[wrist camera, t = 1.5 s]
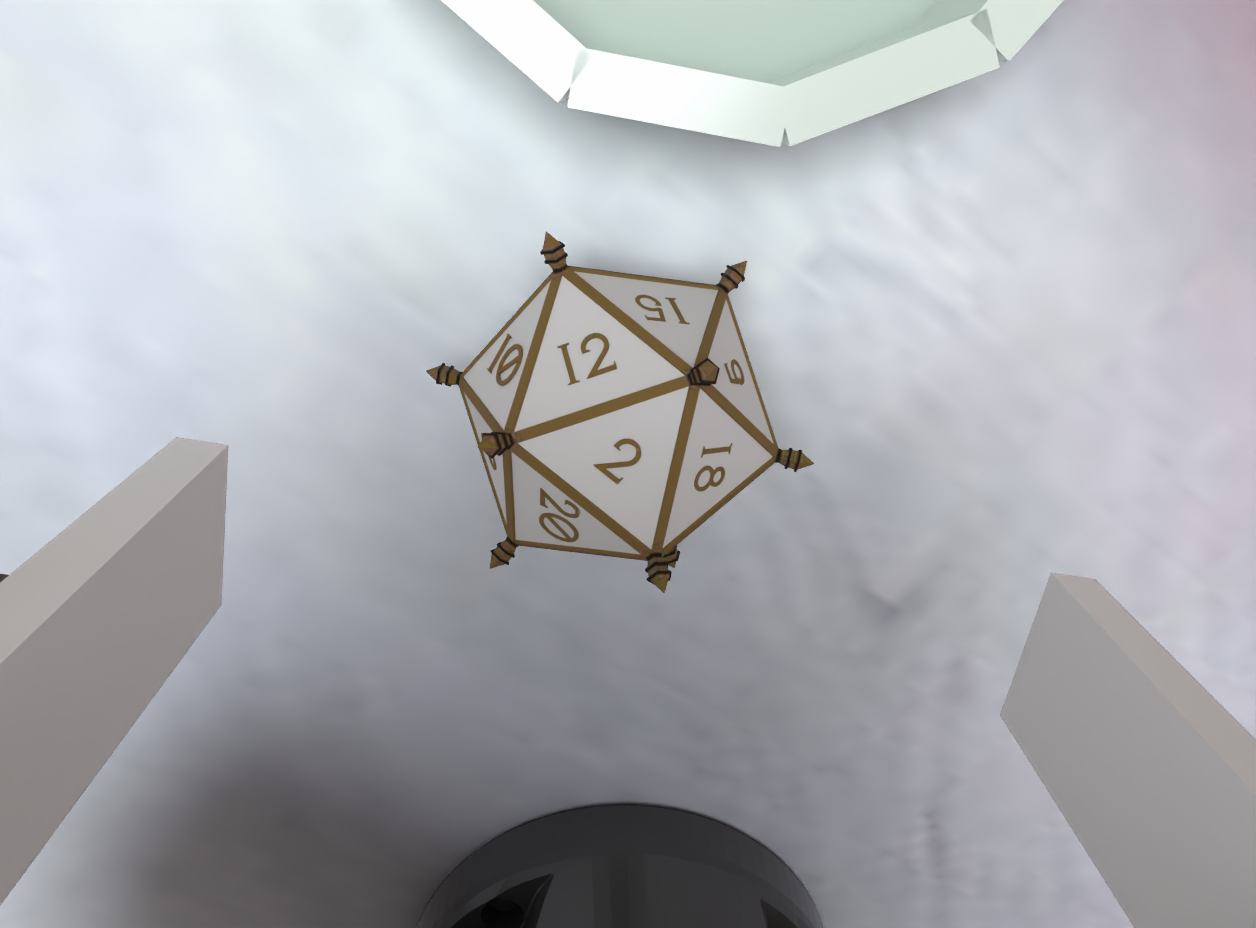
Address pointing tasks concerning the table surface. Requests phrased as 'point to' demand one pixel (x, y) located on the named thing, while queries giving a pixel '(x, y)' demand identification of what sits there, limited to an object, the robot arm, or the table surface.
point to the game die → (617, 413)
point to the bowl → (752, 56)
